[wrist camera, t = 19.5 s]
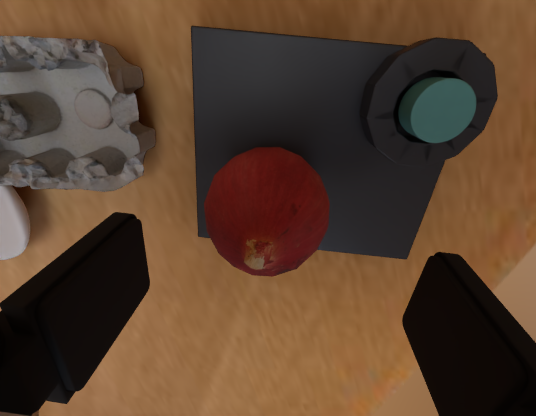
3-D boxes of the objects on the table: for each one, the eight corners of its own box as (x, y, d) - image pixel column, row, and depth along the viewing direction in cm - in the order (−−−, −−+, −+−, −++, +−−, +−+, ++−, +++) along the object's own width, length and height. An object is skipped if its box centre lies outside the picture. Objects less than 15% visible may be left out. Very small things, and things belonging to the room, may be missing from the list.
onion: (333, 207, 17) (365, 308, 10) (248, 235, 18) (222, 342, 11) (300, 115, 15) (312, 160, 8) (206, 155, 16) (140, 225, 9)
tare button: (466, 80, 12) (488, 81, 11) (444, 138, 14) (462, 146, 12) (407, 74, 12) (422, 75, 11) (390, 132, 14) (402, 140, 12)
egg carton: (144, 41, 15) (98, 32, 11) (165, 173, 18) (135, 200, 15) (-44, 38, 15) (-146, 29, 12) (10, 168, 19) (-56, 192, 15)
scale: (477, 49, 14) (521, 44, 11) (403, 248, 20) (421, 276, 17) (198, 23, 14) (178, 13, 12) (203, 226, 20) (190, 251, 17)
